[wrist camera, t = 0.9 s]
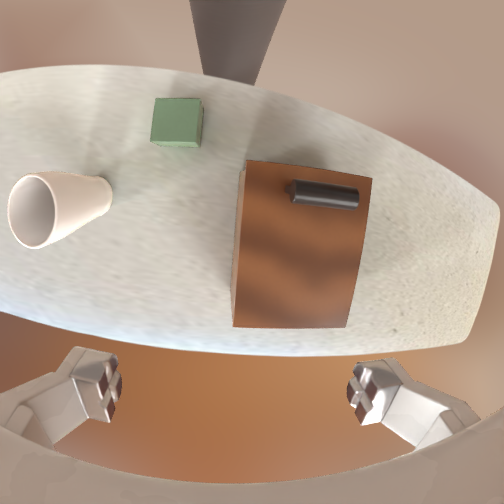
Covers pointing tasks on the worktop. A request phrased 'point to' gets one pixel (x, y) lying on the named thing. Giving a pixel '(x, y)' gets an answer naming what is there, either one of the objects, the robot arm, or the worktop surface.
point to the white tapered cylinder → (55, 205)
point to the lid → (299, 246)
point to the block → (177, 122)
